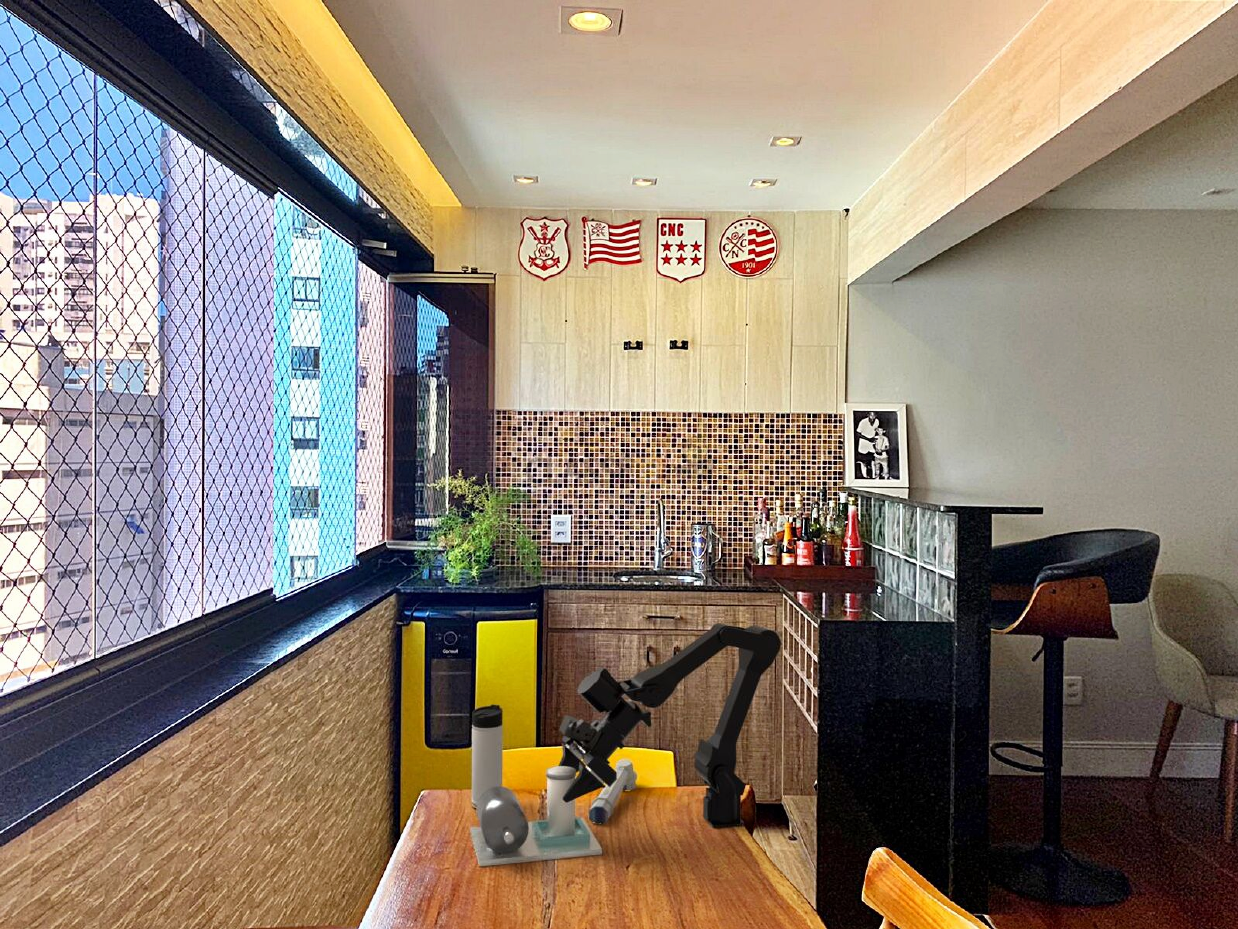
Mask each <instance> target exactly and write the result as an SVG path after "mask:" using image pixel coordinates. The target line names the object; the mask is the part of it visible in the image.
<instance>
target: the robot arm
mask: <svg viewBox="0 0 1238 929" xmlns="http://www.w3.org/2000/svg"><path fill="white" fill-rule="evenodd" d="M726 647H734V648H738V650H737V651H738V652H737V653H738V667H737V669H736V670H737V671H736V673H735V676H734V678H733V681H732V684H731V687H730V690H729V691H728V695H727V697H726V700H725V703H724V706H723V707H722V711H721V714H720V715H719V716H720V717H719V719H718V722H717V724H716V728H715V730H714V732H713V734H712V735H711V736H710V737H709V738H708V739H707V740H705V739H703V738H700V739H699V742H698V747H697V750H696V751H695V753H694V755H693V756H692V757H693V759H694V764H693V765H694V769H695V771H696V773H697V775H698V776H699V777H701V779H702V782H703V784H704V785H706V786H707V787H706V788H705V796H703V804H702V807H703V808H702V810H703V812H702V813H703V814H702V817H703V819H704V820H705V821H706V820H707V821H708V822H709V823H710V824H711V825H712V826H713V827H712V826H711V825H710V824H709V823H708V822H707V823H708V824H709V825H710V826H711V827H712V828H724V827H735V826H744V825H745V821H744V820H742V815H741V814H742V813H741V812H742V808H741V806H742V805H741V802H742V796H743V795H744V792H745V790H746V786H747V784H746V783H745V782H744V781H743V780H742V779H741V778H740V777H739V776H737V775H736V774H735V772H736V766H737V762H738V760H737V759H738V753H737V752H738V751H737V743H738V741H739V738H740V735H741V731H742V729H743V727H744V724H745V722H746V718H747V716H748V714H749V710H750V707H751V704H752V702H753V699H754V697H755V694H756V691H757V689H758V686H759V683H760V680H761V678H762V676H763V674H765V672H767V670H768V669H769V668H770V667H771V666H772V665H773V663H774V662H775V660H776V658H777V656H778V655H779V653H780V650H781V649H782V648H781V647H782V641H781V639H780V635H778V633H777V632H776V631H775V630H772V629H769V628H767V627H764V626H761V625H756V624H754V625H750V626H748V627H741V626H736V625H730V624H725V623H722V622H717V623H715V624H713V625H712V626H711V628H710V629H708V630H707V631H706V632H704V633H703V634H702V635H700V636H699V637H698V638H696V639H694V641H692V642H691V643H689V644H688V645H687V646H685V647H684V648H682V649H681V650H680V651H679V652H677V653H676V654H675V655H673V656H671V657H670V658H669V659H667V660H666V661H665V662H663V663H660V664H657V665H653V666H650V667H648V668H645V669H644V670H642V671H640V672H638V673H637V674H635V675H634V676H633V677H632V678H630V679H625V680H621V681H617V680H616V679H615V678H614V677H613V676H612V675H611V673H610V672H609V671H608V670H607V669H606V668H605V667H604V666H600V667H599V668H598V670H594V671H593V672H591V673H590V674H589V675H586V676H585V677H584V678H583V679H582V681H581V682H580V683H579V685H578V687H577V694H578V695H580V696H581V697H582V699H583V700H585V701H586V702H587V704H589V705H590V706H591V707H592V708H593V709H594V710H595V711H596V712H597V713H598V714H601V713H602V714H603V713H604V712H605V713H606V714H605V716H604V717H603V718H602V719H601V720H600V721H599V720H598V719H596V720H593V721H592V722H591V723H590V722H589V721H585V720H584V719H583V718H580V719H578V718H576V717H573V716H571V715H568V714H565V715H564V717H563V720H562V723H561V724H560V727H559V729H558V730H559V732H561V734H562V735H563V736H562V737H561V738H562V739H561V740H562V741H563V742H564V743H565V744H564V743H563V742H562V743H561V747H562V757H561V760H560V761H559V763H558V766H568V767H572V768H575V769H576V774H577V773H578V775H576V776H575V780H574V782H573V783H572V784H571V786H570V787H569V789H568V790H567V792H566V793H565V795H564V796H563V798H562V799H563V800H564V801H565V802H566V803H567V802H570V801H572V800H574V799H575V800H576V799H579V798H580V797H583V796H585V795H587V794H590V793H592V792H595V791H597V790H600V789H604V788H605V787H606V784H607V785H608V786H609V787H611V785H612V784H613V783H614V782H615V781H616V780H617V772H616V771H615V770H616V769H614V768H613V767H612V766H611V765H610V764H611V762H610V761H609V758H610V757H611V756H612V755H613V754H614V753H615V751H617V750H618V748H619V749H620V750H621V751H622V750H623V748H624V747H626V745H625V744H623V742H625V740H626V739H627V738H628V736H630V734H631V733H632V732H633V731H634V730H635V729H636V728H637V726H638V725H639V724H640V723H641V722H642V723H643V724H644V725H645V726H646V727H648V728H651V727H652V725H653V724H652V718H651V716H652V712H651V711H649V710H648V709H643V708H642V707H640V706H639V705H638V704H637V702H638V703H640V704H642V706H645V707H646V708H650V709H656V708H659V707H661V705H663V704H664V703H665V702H666V701H667V700H668V699H669V697H671V696H672V695H673V693H674V692H675V690H676V688H677V687H678V686H679V684H680V683H681V682H682V680H684V679H685V678H686V677H688V676H689V675H690V674H692V673H693V672H695V671H696V670H697V669H698V668H699V667H701V666H703V665H704V664H705V663H706V662H708V661H709V660H710V659H712V658H713V657H714V656H716V655H717V654H718V653H720V652H721V651H723V650H724V649H726ZM623 695H624V696H626V697H627V698H628V699H630V700H631V701H627V700H626V699H624V698H623V697H622V696H623Z"/></svg>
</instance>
